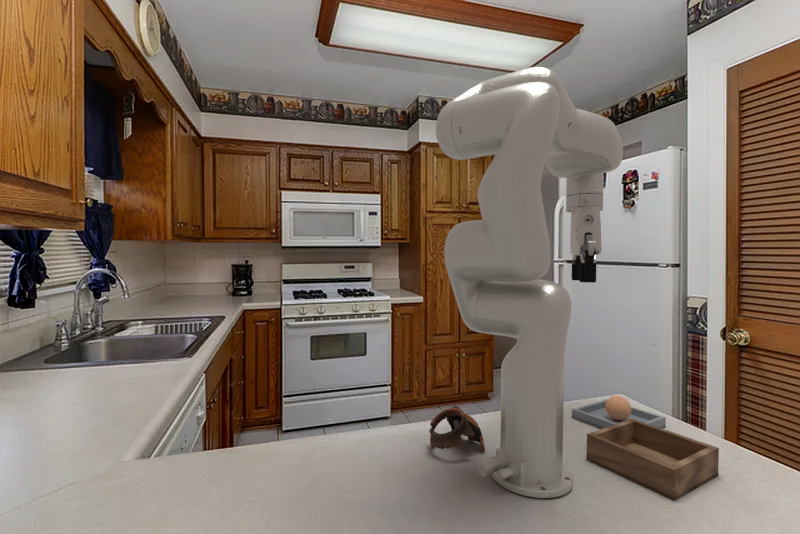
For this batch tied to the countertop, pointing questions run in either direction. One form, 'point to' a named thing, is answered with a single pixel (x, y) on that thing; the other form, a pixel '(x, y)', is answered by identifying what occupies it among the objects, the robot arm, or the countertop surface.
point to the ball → (618, 408)
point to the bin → (653, 457)
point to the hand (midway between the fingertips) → (583, 281)
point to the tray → (600, 418)
